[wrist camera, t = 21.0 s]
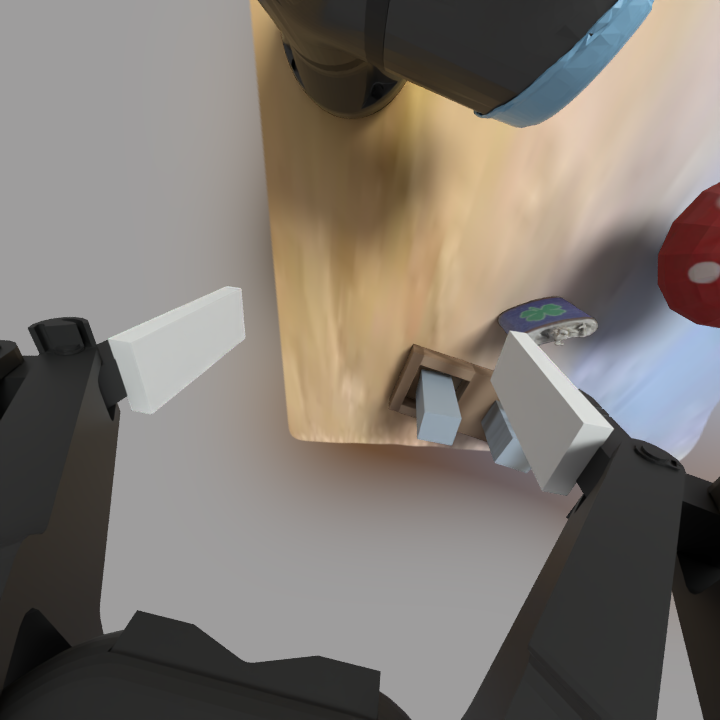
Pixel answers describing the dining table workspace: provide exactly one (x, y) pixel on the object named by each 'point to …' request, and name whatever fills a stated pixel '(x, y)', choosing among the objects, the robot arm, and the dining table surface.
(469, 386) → the block insertion board
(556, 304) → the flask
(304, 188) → the dining table surface
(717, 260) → the decorative mushroom
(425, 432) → the gray rectangular block
